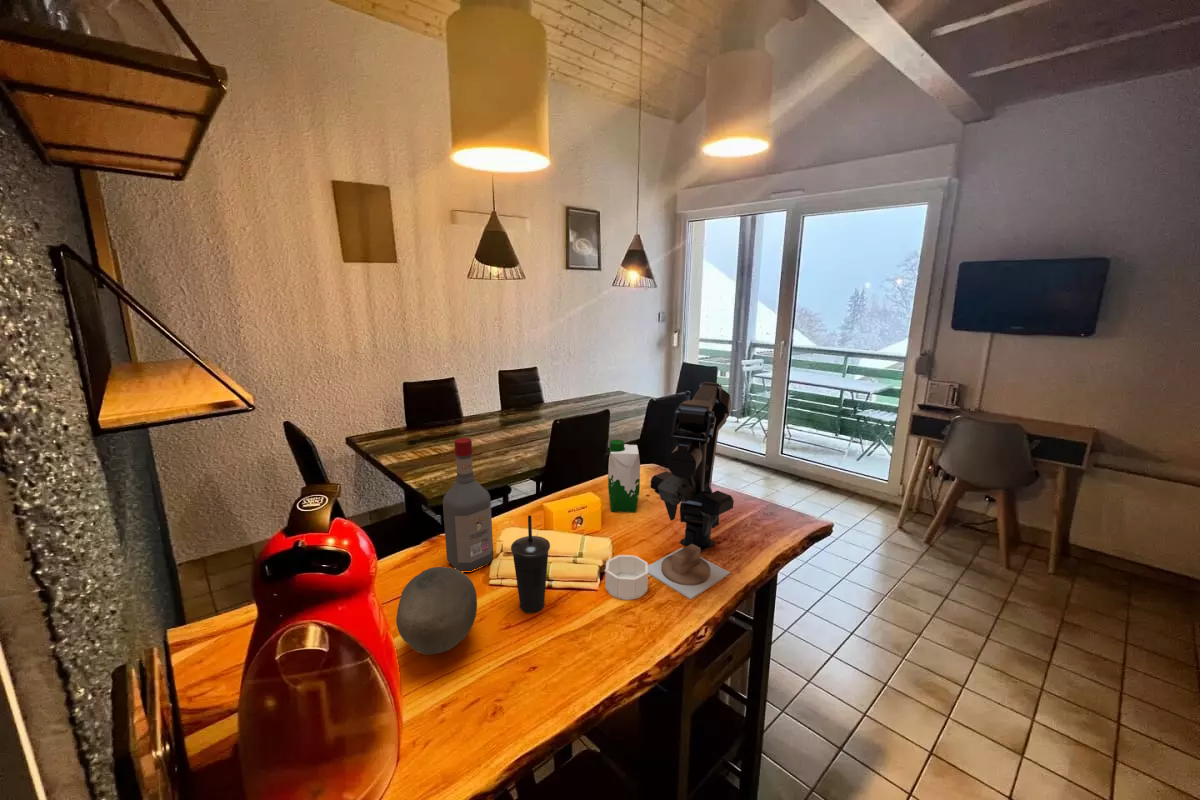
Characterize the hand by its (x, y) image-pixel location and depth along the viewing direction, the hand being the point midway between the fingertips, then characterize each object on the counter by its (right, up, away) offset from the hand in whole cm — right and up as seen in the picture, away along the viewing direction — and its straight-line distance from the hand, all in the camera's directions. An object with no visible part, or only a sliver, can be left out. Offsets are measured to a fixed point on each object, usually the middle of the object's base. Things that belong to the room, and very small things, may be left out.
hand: (688, 527), depth 109 cm
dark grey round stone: (-48, -17, -20) cm, 55 cm away
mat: (0, -11, +3) cm, 11 cm away
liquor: (-50, -10, +7) cm, 51 cm away
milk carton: (-13, -3, +35) cm, 37 cm away
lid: (0, -11, +3) cm, 11 cm away
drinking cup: (-33, -14, -9) cm, 37 cm away
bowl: (-14, -12, -2) cm, 19 cm away
